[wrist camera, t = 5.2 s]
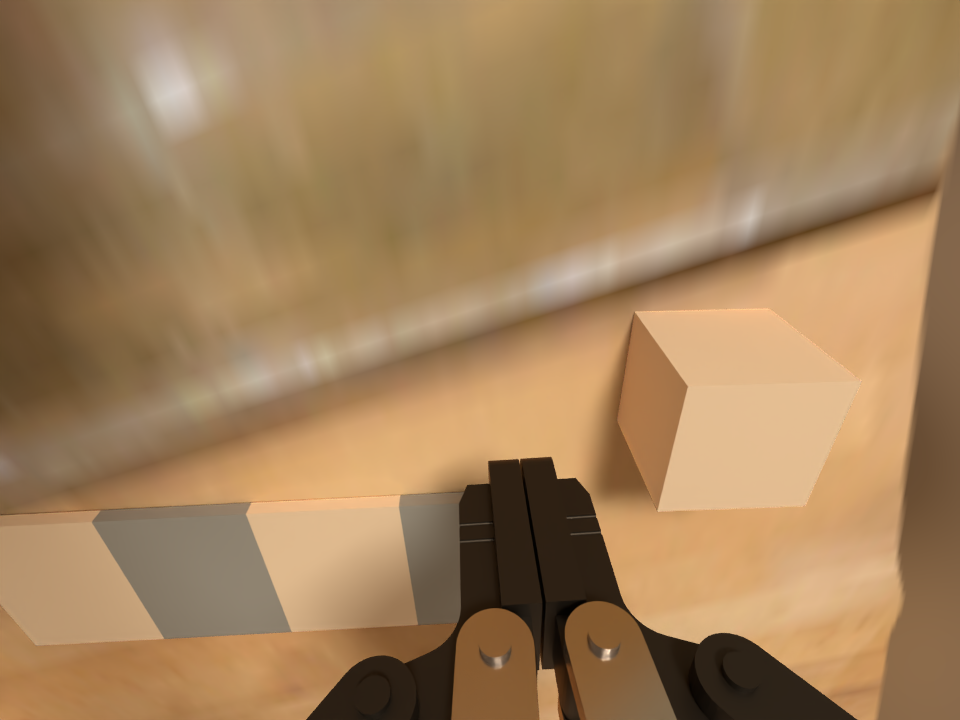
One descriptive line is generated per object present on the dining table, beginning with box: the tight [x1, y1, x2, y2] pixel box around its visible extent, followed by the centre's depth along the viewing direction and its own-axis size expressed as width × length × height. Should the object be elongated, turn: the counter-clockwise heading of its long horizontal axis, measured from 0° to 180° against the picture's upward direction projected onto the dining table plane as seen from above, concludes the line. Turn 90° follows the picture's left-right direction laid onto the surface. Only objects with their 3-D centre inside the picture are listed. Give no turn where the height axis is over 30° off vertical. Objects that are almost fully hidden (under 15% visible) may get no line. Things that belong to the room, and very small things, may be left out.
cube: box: [617, 308, 862, 512], centre depth 16 cm, size 4×4×4 cm
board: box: [0, 492, 464, 646], centre depth 22 cm, size 8×24×1 cm, turn 92°
